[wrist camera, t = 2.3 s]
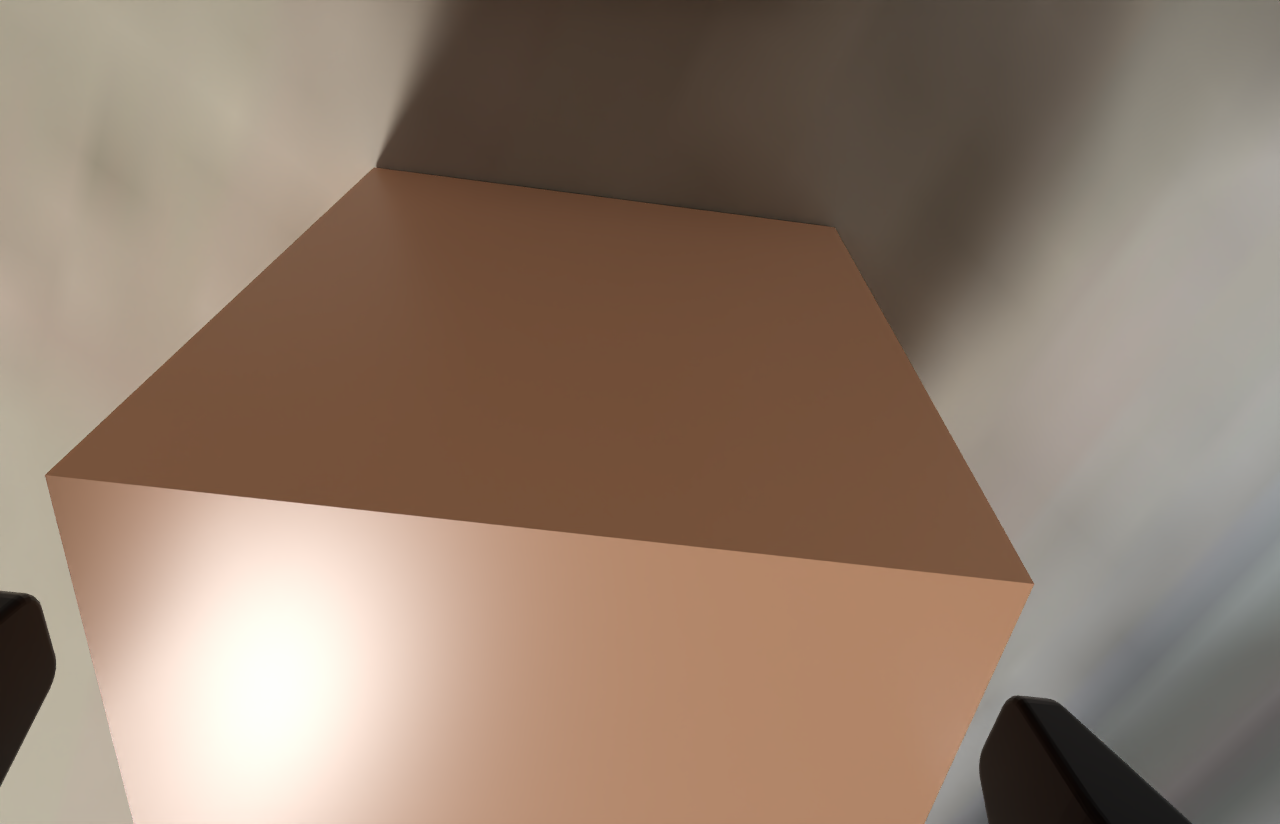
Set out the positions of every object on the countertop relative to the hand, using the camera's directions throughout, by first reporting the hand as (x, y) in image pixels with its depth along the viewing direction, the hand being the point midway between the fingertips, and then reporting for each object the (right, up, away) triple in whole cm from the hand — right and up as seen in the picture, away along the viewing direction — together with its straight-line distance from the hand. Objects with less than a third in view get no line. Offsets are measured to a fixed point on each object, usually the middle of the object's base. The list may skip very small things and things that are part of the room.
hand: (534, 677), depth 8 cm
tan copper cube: (0, +3, +5) cm, 5 cm away
